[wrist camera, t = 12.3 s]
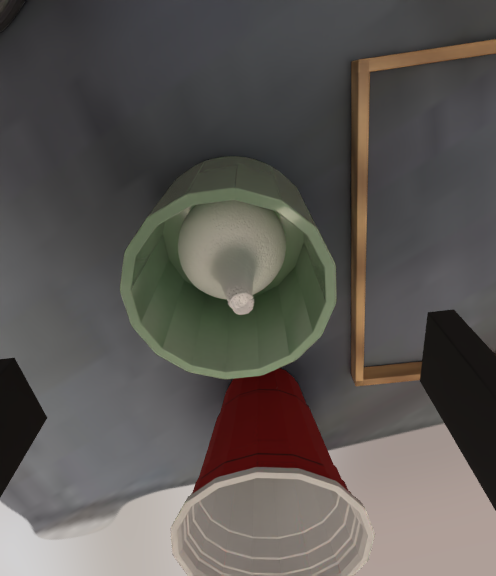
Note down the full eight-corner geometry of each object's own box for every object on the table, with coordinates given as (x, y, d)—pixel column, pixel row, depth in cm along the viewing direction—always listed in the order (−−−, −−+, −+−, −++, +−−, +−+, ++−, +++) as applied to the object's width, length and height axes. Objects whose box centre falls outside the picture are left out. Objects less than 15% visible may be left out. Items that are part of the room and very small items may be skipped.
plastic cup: (326, 325, 27) (377, 476, 17) (334, 428, 32) (377, 595, 22) (180, 345, 28) (140, 502, 17) (211, 443, 33) (194, 610, 22)
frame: (351, 61, 19) (358, 59, 18) (617, 21, 19) (643, 17, 17) (350, 374, 29) (355, 386, 28) (524, 356, 29) (537, 368, 27)
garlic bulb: (175, 189, 22) (142, 238, 15) (282, 183, 22) (300, 229, 15) (189, 284, 25) (167, 362, 18) (284, 279, 25) (299, 356, 18)
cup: (140, 167, 22) (91, 206, 15) (305, 145, 21) (334, 174, 14) (176, 307, 26) (151, 387, 19) (313, 291, 26) (338, 368, 19)
